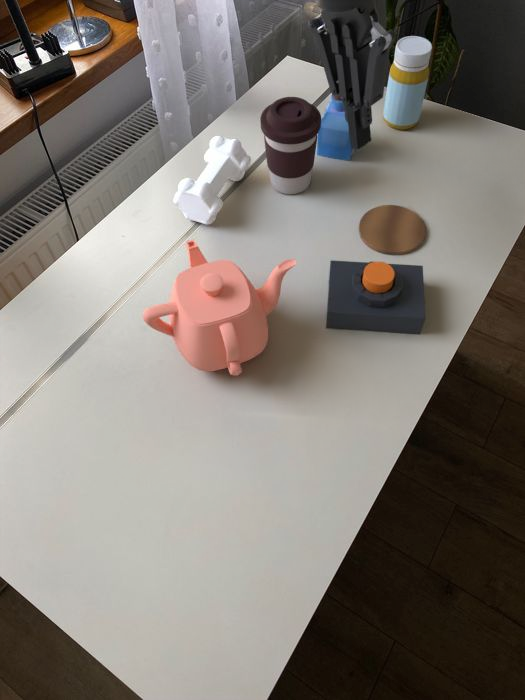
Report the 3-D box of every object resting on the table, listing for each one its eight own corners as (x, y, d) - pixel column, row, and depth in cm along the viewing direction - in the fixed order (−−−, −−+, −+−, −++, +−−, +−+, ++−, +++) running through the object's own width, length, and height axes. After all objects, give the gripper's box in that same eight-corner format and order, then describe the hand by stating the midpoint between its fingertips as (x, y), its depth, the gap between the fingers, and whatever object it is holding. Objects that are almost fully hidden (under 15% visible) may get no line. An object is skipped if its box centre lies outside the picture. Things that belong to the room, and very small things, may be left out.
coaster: (423, 209, 104) (424, 206, 103) (426, 257, 98) (427, 254, 97) (359, 206, 105) (359, 203, 104) (358, 253, 99) (358, 250, 98)
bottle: (378, 127, 116) (390, 53, 104) (386, 106, 120) (398, 32, 107) (414, 134, 115) (430, 59, 102) (421, 112, 119) (437, 37, 106)
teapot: (197, 283, 97) (185, 223, 85) (296, 314, 93) (297, 254, 81) (150, 363, 89) (130, 308, 77) (255, 400, 85) (251, 348, 73)
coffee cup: (251, 180, 109) (247, 107, 97) (292, 156, 113) (293, 82, 100) (288, 209, 105) (288, 136, 93) (329, 183, 108) (334, 109, 96)
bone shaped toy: (218, 232, 103) (214, 196, 96) (174, 219, 105) (166, 182, 98) (254, 176, 110) (252, 139, 103) (212, 165, 112) (207, 128, 105)
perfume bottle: (316, 155, 113) (319, 97, 103) (325, 134, 116) (328, 76, 106) (349, 161, 111) (355, 103, 101) (356, 140, 115) (363, 82, 105)
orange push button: (392, 271, 89) (394, 262, 88) (392, 294, 87) (394, 285, 85) (362, 269, 90) (364, 260, 88) (362, 292, 87) (363, 283, 86)
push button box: (417, 283, 95) (425, 257, 90) (420, 335, 90) (427, 310, 85) (328, 277, 96) (331, 252, 91) (325, 328, 91) (328, 304, 86)
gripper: (282, -32, 71) (311, 143, 89) (363, -15, 64) (376, 172, 82) (327, -57, 74) (346, 118, 91) (410, -44, 66) (413, 144, 84)
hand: (360, 143), depth 87 cm, fingers closed
